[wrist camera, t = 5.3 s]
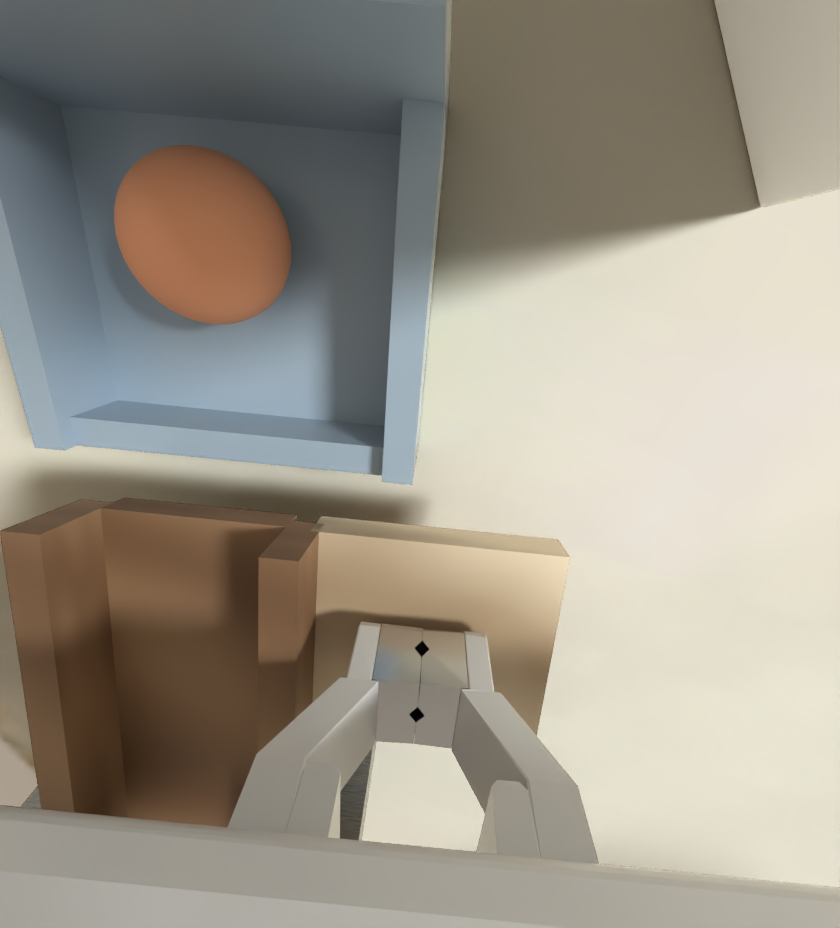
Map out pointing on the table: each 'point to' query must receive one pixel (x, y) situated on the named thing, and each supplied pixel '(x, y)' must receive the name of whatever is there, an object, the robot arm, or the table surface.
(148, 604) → the lever
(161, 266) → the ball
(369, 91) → the light blue open box
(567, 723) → the table surface
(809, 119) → the milk
